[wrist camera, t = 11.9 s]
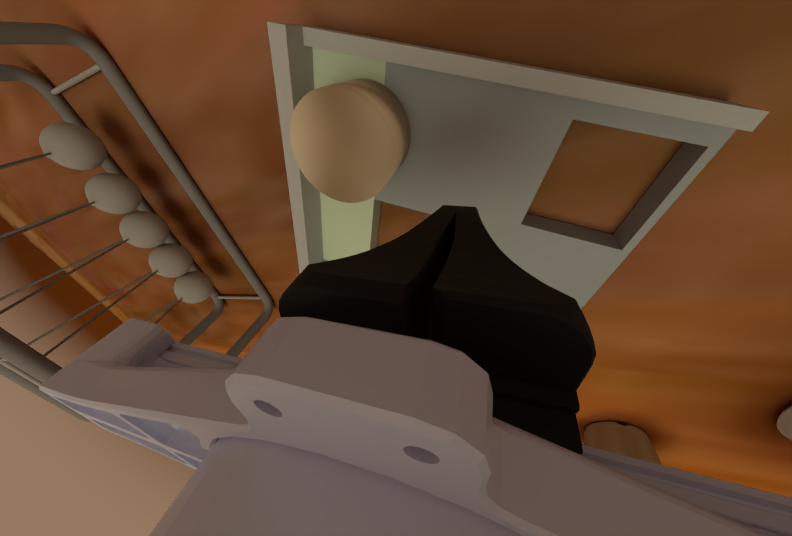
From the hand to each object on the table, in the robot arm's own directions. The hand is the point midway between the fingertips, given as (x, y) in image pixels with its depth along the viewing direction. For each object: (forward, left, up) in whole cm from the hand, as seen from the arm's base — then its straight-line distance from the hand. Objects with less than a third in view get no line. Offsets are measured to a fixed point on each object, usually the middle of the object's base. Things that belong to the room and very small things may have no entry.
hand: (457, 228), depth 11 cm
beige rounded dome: (+1, -7, -8) cm, 11 cm away
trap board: (+4, +1, -10) cm, 11 cm away
